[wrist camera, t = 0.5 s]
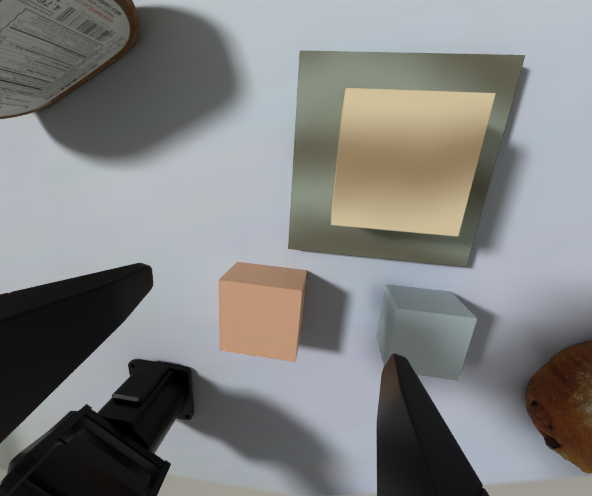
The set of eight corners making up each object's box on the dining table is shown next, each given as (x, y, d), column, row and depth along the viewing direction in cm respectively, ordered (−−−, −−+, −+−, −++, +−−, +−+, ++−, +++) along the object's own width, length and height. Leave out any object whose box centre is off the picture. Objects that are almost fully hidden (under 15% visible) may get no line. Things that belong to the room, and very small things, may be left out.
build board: (459, 262, 20) (500, 291, 15) (290, 245, 21) (277, 267, 16) (513, 62, 16) (591, 16, 11) (301, 57, 17) (290, 14, 12)
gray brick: (436, 344, 22) (458, 380, 18) (376, 336, 23) (385, 369, 19) (450, 291, 21) (477, 318, 17) (385, 283, 21) (397, 308, 17)
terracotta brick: (301, 330, 23) (295, 362, 20) (237, 321, 24) (219, 350, 20) (307, 269, 22) (301, 290, 18) (237, 261, 22) (218, 280, 18)
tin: (148, -15, 17) (-12, -174, 9) (171, 36, 18) (42, -71, 10) (1, 95, 21) (-207, 49, 13) (26, 134, 21) (-158, 114, 13)
